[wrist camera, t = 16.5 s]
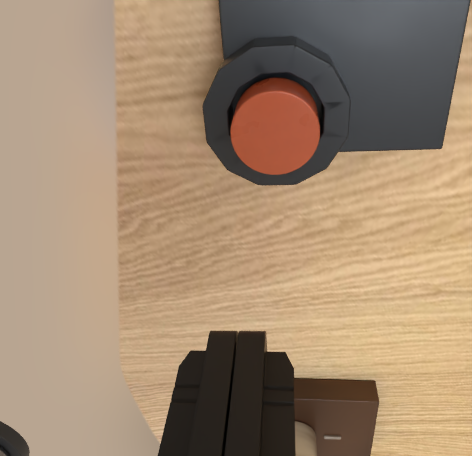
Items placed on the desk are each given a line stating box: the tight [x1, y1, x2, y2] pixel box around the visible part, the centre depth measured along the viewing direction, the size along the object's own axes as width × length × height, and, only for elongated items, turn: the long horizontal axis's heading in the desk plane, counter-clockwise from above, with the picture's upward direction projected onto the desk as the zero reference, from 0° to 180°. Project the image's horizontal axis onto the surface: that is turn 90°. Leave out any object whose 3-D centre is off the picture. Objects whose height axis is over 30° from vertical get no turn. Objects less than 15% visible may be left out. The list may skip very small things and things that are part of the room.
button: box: [230, 78, 320, 175], centre depth 21 cm, size 4×4×2 cm
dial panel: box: [294, 379, 379, 456], centre depth 40 cm, size 14×10×2 cm
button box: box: [203, 0, 471, 185], centre depth 21 cm, size 12×12×4 cm
